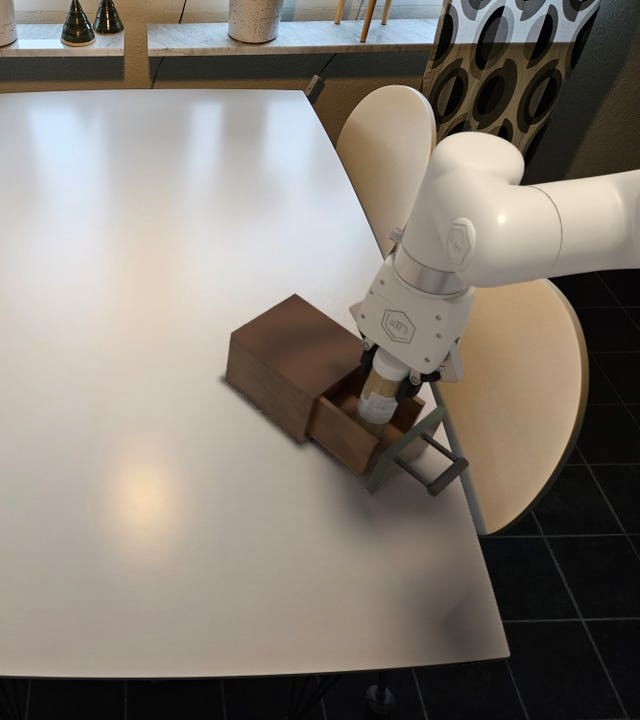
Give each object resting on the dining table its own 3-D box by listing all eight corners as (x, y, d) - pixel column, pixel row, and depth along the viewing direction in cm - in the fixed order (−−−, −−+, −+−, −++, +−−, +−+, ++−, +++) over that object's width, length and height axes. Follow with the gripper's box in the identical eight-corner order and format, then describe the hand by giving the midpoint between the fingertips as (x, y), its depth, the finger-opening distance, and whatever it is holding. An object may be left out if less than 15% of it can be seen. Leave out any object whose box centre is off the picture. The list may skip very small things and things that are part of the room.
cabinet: (361, 397, 91) (378, 351, 84) (300, 444, 86) (313, 399, 78) (285, 340, 99) (295, 292, 91) (224, 379, 93) (230, 332, 86)
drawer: (466, 476, 81) (489, 440, 76) (411, 528, 76) (432, 494, 71) (346, 385, 91) (359, 348, 86) (291, 427, 86) (301, 389, 81)
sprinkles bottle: (355, 407, 85) (382, 335, 75) (390, 420, 83) (421, 348, 73) (345, 432, 82) (372, 361, 72) (381, 446, 81) (413, 375, 71)
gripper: (342, 236, 66) (310, 357, 79) (492, 327, 57) (427, 445, 70) (388, 209, 69) (350, 329, 82) (537, 291, 60) (466, 411, 74)
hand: (386, 382), depth 76 cm, fingers closed on sprinkles bottle, 4 cm apart
